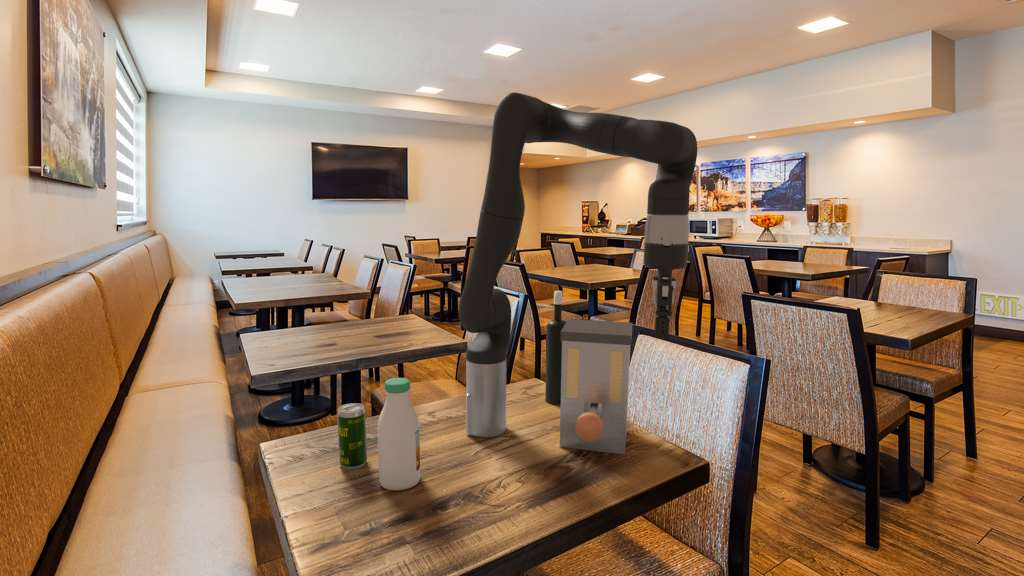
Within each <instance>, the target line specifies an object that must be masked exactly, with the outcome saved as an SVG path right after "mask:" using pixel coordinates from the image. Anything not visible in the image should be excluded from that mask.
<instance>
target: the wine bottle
mask: <svg viewBox="0 0 1024 576" xmlns="http://www.w3.org/2000/svg"><path fill="white" fill-rule="evenodd" d="M553 304H554V306H553V319H552V320H549V321H548V323H546V343H545V345H546V346H545V347H546V349H545V399H544V400H545V402H546V403H548V404H550V405H561V367H562V341H560V340H561V330H562V329H563V327H564V325H565V324H566V322H567V321H566V320H564V319H562V316H563V315H562V313H563V311H562V310H563V309H562V308H563V291H562V290H554V293H553Z"/></svg>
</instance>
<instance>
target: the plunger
mask: <svg viewBox="0 0 1024 576" xmlns="http://www.w3.org/2000/svg"><path fill="white" fill-rule="evenodd" d="M597 408H598V403H591V405H590V409H589V412H586V413H583V414H582V415H580V416H579V418H578V419H577V423H576V427H575V428H576V433H577V435H578V436H579V437H580V438H581V439H583V440H585V441H594V440H597V439H598V438H599V437H600V435H601V433H602V428H603V423H602V420H601V418H600V417H599V416H598V415H596V413H597Z"/></svg>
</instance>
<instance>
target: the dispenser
mask: <svg viewBox="0 0 1024 576" xmlns="http://www.w3.org/2000/svg"><path fill="white" fill-rule="evenodd" d="M632 337H633V322H627V321H624V322H623V321H608V320H594V319H593V320H589V319H573V318H569V319H568V320H567V321H566V324H565V325H564V327H563V329H562V330H561V340H560V341H562V367H561V404H560V414H559V415H560V416H559V417H560V418H559V419H560V421H559V448H565V449H576V450H583V451H592V452H601V453H609V454H610V453H611V454H618V455H626V442H627V433H628V432H627V431H628V430H627V429H628V409H629V387H630V386H629V383H630V360H631V346H632V339H633V338H632ZM591 403H598V408H597V413H596V415H598V416H599V417H600V418H601V420H602V423H603V428H602V433H601V435H600V437H599V438H598V439H597V440H594V441H585V440H583V439H581V438H580V437H579V436H578V435H577V433H576V428H575V427H576V423H577V419H578V418H579V416H580V415H582V414H583V413H586V412H589V409H590V405H591Z"/></svg>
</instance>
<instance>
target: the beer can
mask: <svg viewBox="0 0 1024 576" xmlns="http://www.w3.org/2000/svg"><path fill="white" fill-rule="evenodd" d="M337 410H338V412H337V417H336V418H337V436H338V437H337V438H338V452H339V453H338V456H339V457H338V459H339V460H338V461H339V464H340V467H341V468H343V469H344V470H349V471H350V470H357V469H359V468H360V469H361V468H362V467H364V466H365V465H366V463H367V460H368V450H367V449H368V448H367V424H366V423H367V422H366V409H365V406H364V405H363V403H357V402H356V403H355V402H353V403H352V402H351V403H345V404H343V405H340V406H339V407H338V409H337Z"/></svg>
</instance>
